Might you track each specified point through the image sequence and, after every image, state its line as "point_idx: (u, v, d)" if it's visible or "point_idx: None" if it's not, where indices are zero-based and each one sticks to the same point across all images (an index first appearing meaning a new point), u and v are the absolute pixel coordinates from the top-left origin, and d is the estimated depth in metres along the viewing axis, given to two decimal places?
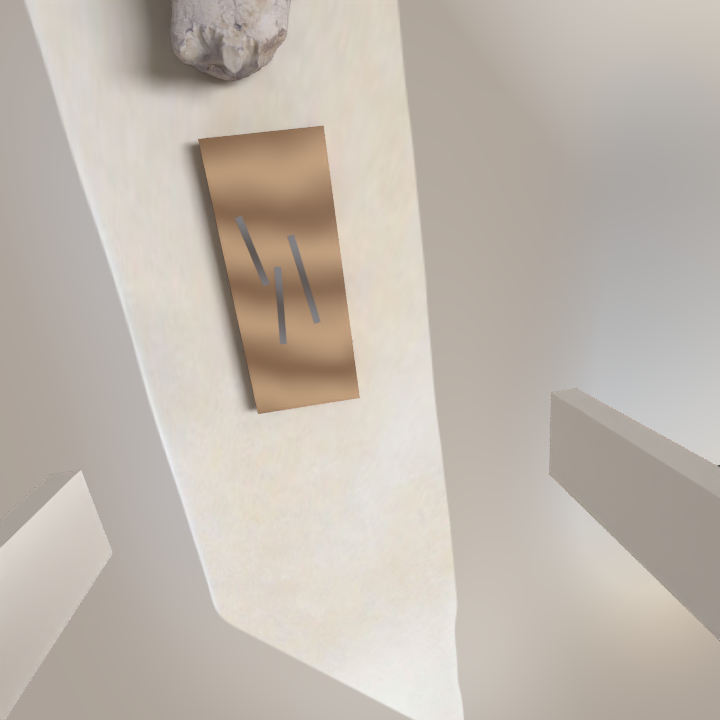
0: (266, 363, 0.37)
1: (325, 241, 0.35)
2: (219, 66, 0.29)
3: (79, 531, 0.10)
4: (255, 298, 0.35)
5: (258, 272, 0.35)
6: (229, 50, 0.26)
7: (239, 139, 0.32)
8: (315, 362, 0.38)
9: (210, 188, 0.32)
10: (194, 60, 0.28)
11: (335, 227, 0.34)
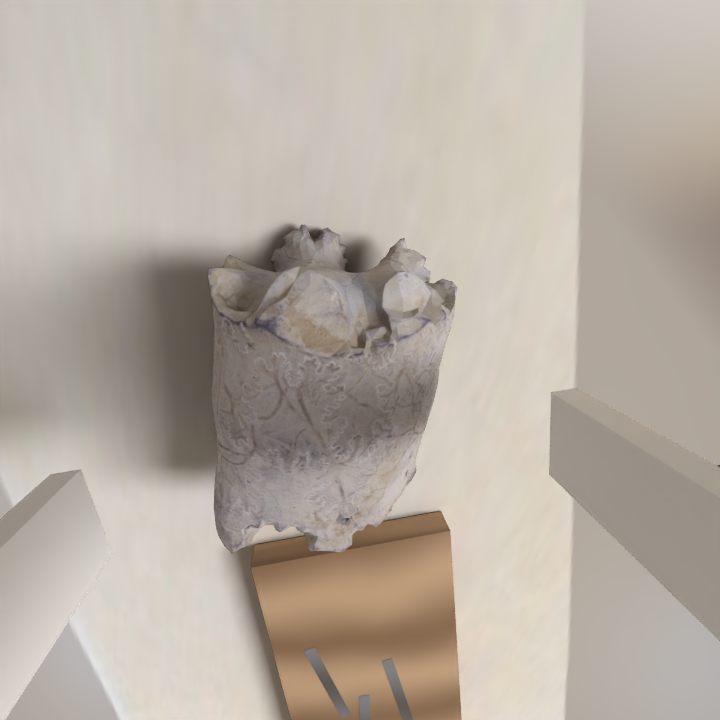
0: None
1: (438, 659, 0.23)
2: None
3: (79, 531, 0.10)
4: None
5: (335, 703, 0.23)
6: (325, 550, 0.14)
7: (316, 560, 0.20)
8: None
9: (267, 622, 0.20)
10: None
11: (454, 643, 0.22)
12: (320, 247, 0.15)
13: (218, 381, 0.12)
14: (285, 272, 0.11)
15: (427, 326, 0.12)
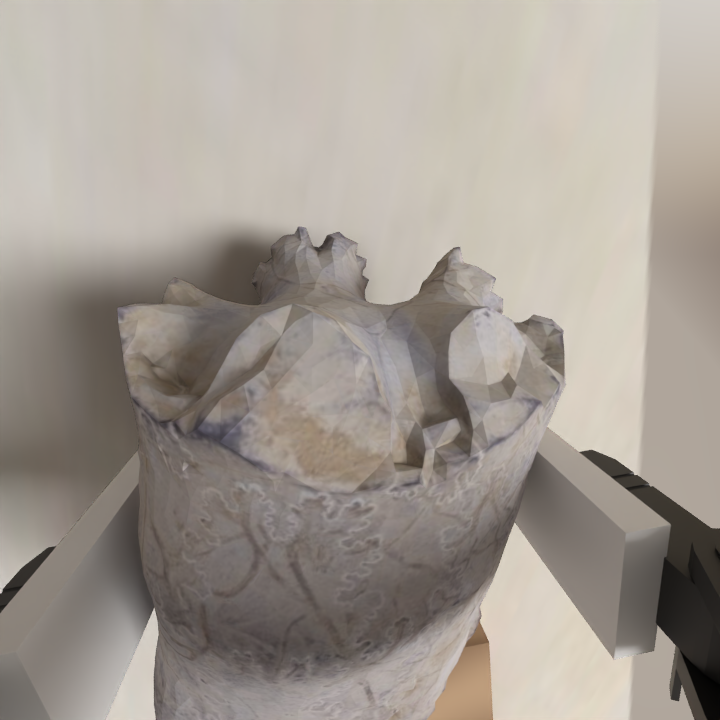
0: None
1: None
2: None
3: None
4: None
5: None
6: None
7: None
8: None
9: None
10: None
11: None
12: (329, 262, 0.09)
13: (143, 512, 0.07)
14: (263, 317, 0.06)
15: (535, 414, 0.06)
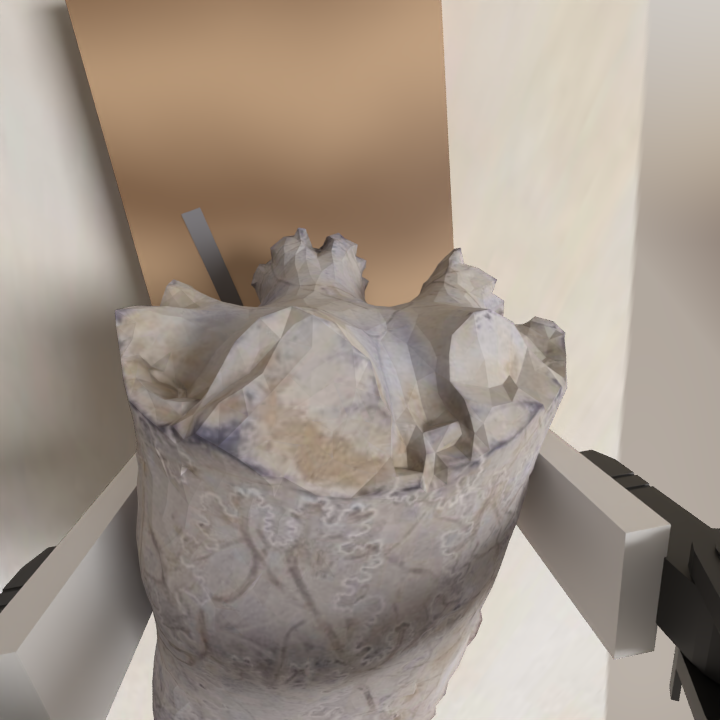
0: None
1: (422, 274, 0.13)
2: None
3: None
4: None
5: None
6: None
7: None
8: None
9: (105, 127, 0.11)
10: None
11: (449, 238, 0.13)
12: (328, 264, 0.09)
13: (141, 516, 0.07)
14: (262, 320, 0.06)
15: (536, 417, 0.06)
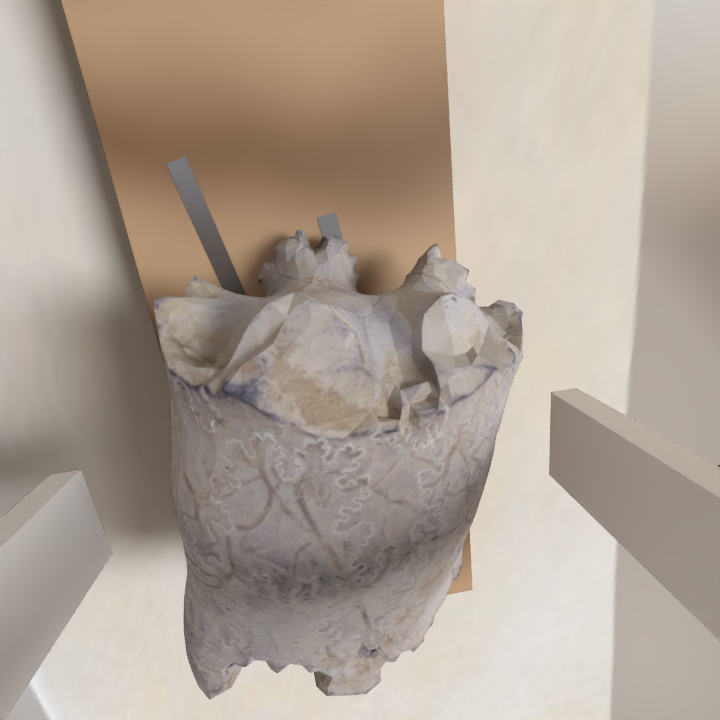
0: None
1: (420, 232, 0.13)
2: None
3: (79, 531, 0.10)
4: None
5: None
6: None
7: None
8: None
9: (85, 67, 0.11)
10: None
11: (449, 194, 0.12)
12: (324, 259, 0.11)
13: (176, 467, 0.08)
14: (271, 303, 0.07)
15: (492, 378, 0.08)
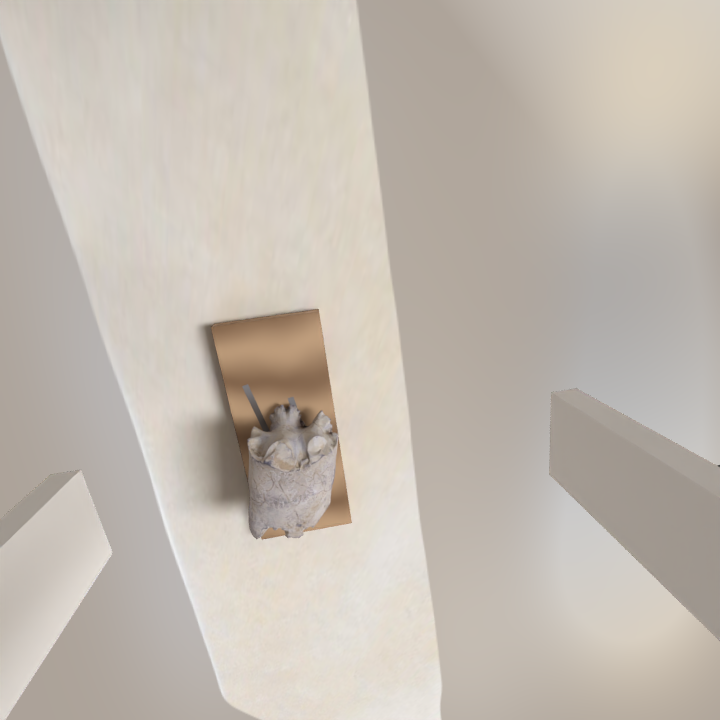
0: None
1: (321, 400, 0.40)
2: None
3: (79, 531, 0.10)
4: None
5: (262, 427, 0.40)
6: (292, 537, 0.37)
7: (246, 325, 0.37)
8: None
9: (221, 364, 0.37)
10: None
11: (329, 389, 0.39)
12: (288, 417, 0.38)
13: (251, 477, 0.35)
14: (273, 443, 0.34)
15: (323, 457, 0.35)
